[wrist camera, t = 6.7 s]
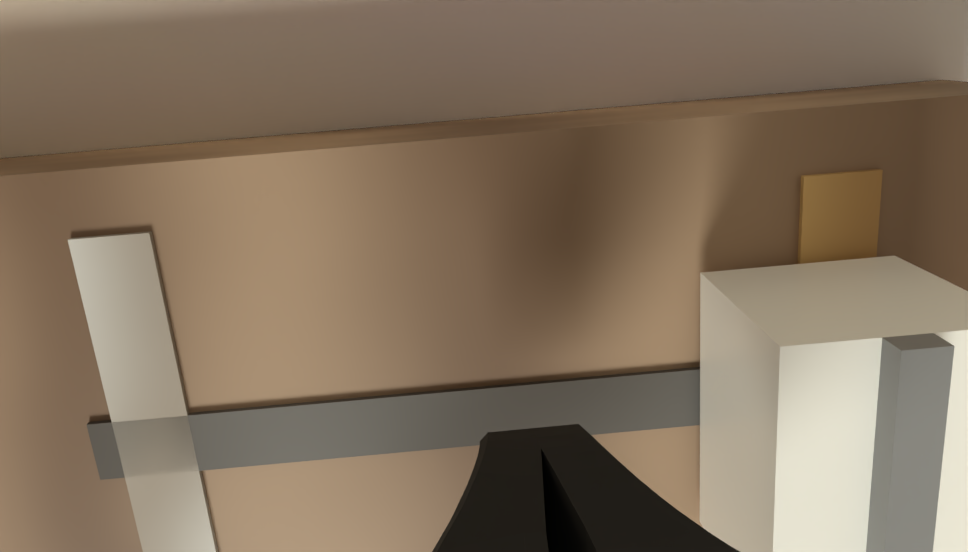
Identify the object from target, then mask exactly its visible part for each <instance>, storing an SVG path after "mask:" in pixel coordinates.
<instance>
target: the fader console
mask: <svg viewBox="0 0 968 552" xmlns="http://www.w3.org/2000/svg"><path fill="white" fill-rule="evenodd" d="M884 256H897V257H899V258H901V259H903V260H905V261H907V262H909V263H911V264H913V265H915V266H917V267H919V268H921V269H923V270H925V271H927V272H929V273H931V274H934V275H936V276H938V277H940V278H942V279H944V280H946V281H948V282H950V283H952V284H954V285H956V286H958V287H960V288H962V289H964V290H966V291H968V82H960V81H949V80H935V81H923V82H911V83H899V84H887V85H875V86H863V87H851V88H839V89H827V90H815V91H803V92H792V93H780V94H768V95H756V96H744V97H732V98H720V99H708V100H696V101H684V102H672V103H660V104H648V105H636V106H624V107H612V108H600V109H588V110H576V111H564V112H552V113H540V114H528V115H516V116H504V117H492V118H480V119H468V120H456V121H444V122H432V123H420V124H409V125H397V126H385V127H373V128H361V129H349V130H337V131H325V132H313V133H301V134H289V135H277V136H265V137H253V138H241V139H229V140H217V141H205V142H193V143H181V144H169V145H157V146H145V147H133V148H121V149H109V150H97V151H85V152H73V153H61V154H49V155H37V156H25V157H14V158H2V159H0V552H432V551H433V549H434V548H435V546H436V544H437V542H438V541H439V539H440V537H441V536H442V534H443V532H444V530H445V529H446V527H447V525H448V524H449V522H450V520H451V518H452V516H453V514H454V512H455V510H456V508H457V505H458V503H459V501H460V499H461V497H462V495H463V493H464V490H465V488H466V486H467V484H468V481H469V479H470V476H471V474H472V471H473V468H474V466H475V463H476V459H477V456H478V452H479V447H480V440H481V439H482V438H483V437H484V436H485V435H486V434H487V433H488V432H497V431H508V430H518V429H529V428H540V427H550V426H561V425H572V424H579V425H580V426H582V427H583V428H584V429H585V430H586V431H587V432H588V433H589V434H591V435H592V436H593V437H594V438H595V439H596V440H597V441H598V442H599V443H600V444H601V445H602V446H603V447H604V448H605V449H606V450H607V451H609V452H610V453H611V454H612V455H613V456H614V457H615V458H616V459H617V460H618V461H619V462H620V463H622V464H623V465H624V466H625V467H626V468H627V469H628V470H629V471H630V472H632V473H633V474H634V475H635V476H636V477H637V478H638V479H640V480H641V481H642V482H643V483H644V484H646V485H647V486H648V487H649V488H651V489H652V490H653V491H654V492H655V493H657V494H658V495H659V496H660V497H661V498H663V499H664V500H665V501H667V502H668V503H669V504H670V505H672V506H673V507H674V508H676V509H677V510H678V511H680V512H681V513H683V514H684V515H686V516H687V517H688V518H690V519H691V520H693V521H694V522H695V523H697V524H698V525H700V526H701V527H702V525H701V523H700V273H701V272H713V271H724V270H736V269H747V268H758V267H770V266H781V265H792V264H804V263H815V262H827V261H838V260H849V259H861V258H872V257H884ZM702 528H703V527H702Z"/></svg>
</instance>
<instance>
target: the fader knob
mask: <svg viewBox="0 0 968 552" xmlns="http://www.w3.org/2000/svg"><path fill="white" fill-rule="evenodd" d="M700 523H701V525H702V527H703V528H704V529H705V530H707V531H708V532H710V533H711V534H713V535H714V536H716V537H717V538H719V539H720V540H722V541H723V542H725V543H726V544H728V545H730V546H731V547H733V548H735V549H736V550H738V551H740V552H968V291H966V290H964V289H962V288H960V287H958V286H956V285H954V284H952V283H950V282H948V281H946V280H944V279H942V278H940V277H938V276H936V275H934V274H931V273H929V272H927V271H925V270H923V269H921V268H919V267H917V266H915V265H913V264H911V263H909V262H907V261H905V260H903V259H901V258H899V257H897V256H884V257H872V258H861V259H849V260H838V261H827V262H815V263H804V264H792V265H781V266H770V267H758V268H747V269H736V270H724V271H713V272H701V273H700Z"/></svg>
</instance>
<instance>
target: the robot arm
mask: <svg viewBox="0 0 968 552" xmlns="http://www.w3.org/2000/svg"><path fill="white" fill-rule="evenodd" d="M432 552H740V551H738V550H736V549H735V548H733V547H731V546H730V545H728V544H726V543H725V542H723V541H722V540H720V539H719V538H717V537H716V536H714V535H713V534H711V533H710V532H708V531H707V530H705V529H704V528H702V527H701V526H700V525H698V524H697V523H695V522H694V521H693V520H691V519H690V518H688V517H687V516H686V515H684V514H683V513H681V512H680V511H678V510H677V509H676V508H674V507H673V506H672V505H670V504H669V503H668V502H667V501H665V500H664V499H663V498H661V497H660V496H659V495H658V494H657V493H655V492H654V491H653V490H652V489H651V488H649V487H648V486H647V485H646V484H644V483H643V482H642V481H641V480H640V479H638V478H637V477H636V476H635V475H634V474H633V473H632V472H630V471H629V470H628V469H627V468H626V467H625V466H624V465H623V464H622V463H620V462H619V461H618V460H617V459H616V458H615V457H614V456H613V455H612V454H611V453H610V452H609V451H607V450H606V449H605V448H604V447H603V446H602V445H601V444H600V443H599V442H598V441H597V440H596V439H595V438H594V437H593V436H592V435H591V434H589V433H588V432H587V431H586V430H585V429H584V428H583V427H582V426H580V425H579V424H572V425H561V426H550V427H540V428H529V429H518V430H508V431H497V432H488V433H487V434H486V435H485V436H484V437H483V438H482V439H481V440H480V447H479V452H478V456H477V459H476V463H475V466H474V468H473V471H472V474H471V476H470V479H469V481H468V484H467V486H466V488H465V490H464V493H463V495H462V497H461V499H460V501H459V503H458V505H457V508H456V510H455V512H454V514H453V516H452V518H451V520H450V522H449V524H448V525H447V527H446V529H445V530H444V532H443V534H442V536H441V537H440V539H439V541H438V542H437V544H436V546H435V548H434V549H433V551H432Z"/></svg>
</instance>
